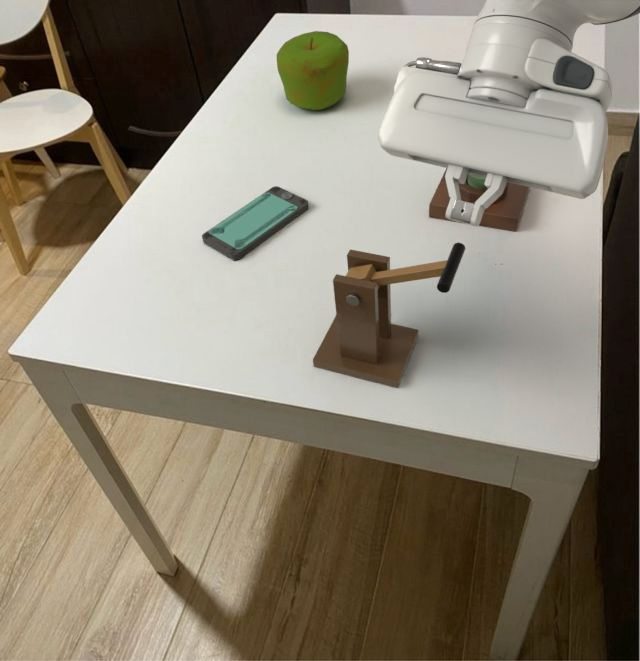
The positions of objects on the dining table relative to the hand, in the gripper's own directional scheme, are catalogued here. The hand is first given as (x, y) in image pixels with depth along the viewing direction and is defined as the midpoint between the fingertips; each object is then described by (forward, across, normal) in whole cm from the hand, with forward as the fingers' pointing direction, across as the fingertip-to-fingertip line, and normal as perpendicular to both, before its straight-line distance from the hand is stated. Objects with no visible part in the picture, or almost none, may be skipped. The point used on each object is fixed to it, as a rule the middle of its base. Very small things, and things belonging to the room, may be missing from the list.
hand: (461, 222), depth 60 cm
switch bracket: (+16, -9, +11) cm, 21 cm away
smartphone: (+6, -34, +22) cm, 41 cm away
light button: (-9, -7, +31) cm, 33 cm away
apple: (-18, -44, +46) cm, 66 cm away
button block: (-6, -7, +33) cm, 35 cm away
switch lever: (+7, -4, +3) cm, 9 cm away
